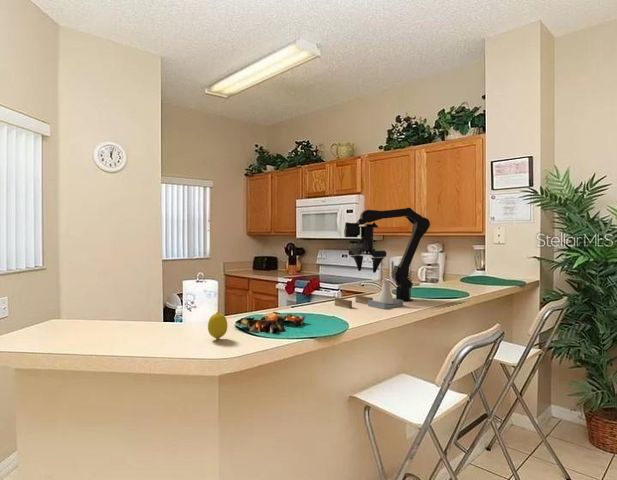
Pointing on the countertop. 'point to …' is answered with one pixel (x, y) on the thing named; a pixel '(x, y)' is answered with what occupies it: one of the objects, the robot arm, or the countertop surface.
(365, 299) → the channel
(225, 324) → the lemon
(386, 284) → the flask
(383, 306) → the cradle
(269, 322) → the food
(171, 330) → the countertop surface
